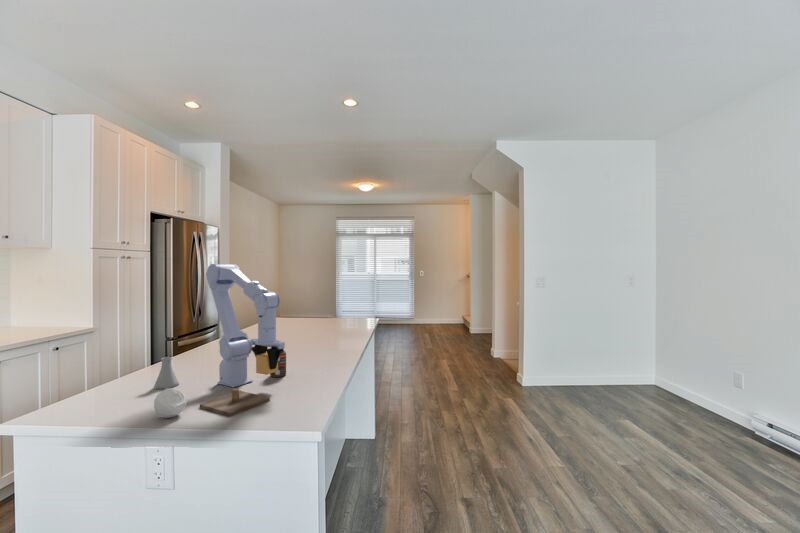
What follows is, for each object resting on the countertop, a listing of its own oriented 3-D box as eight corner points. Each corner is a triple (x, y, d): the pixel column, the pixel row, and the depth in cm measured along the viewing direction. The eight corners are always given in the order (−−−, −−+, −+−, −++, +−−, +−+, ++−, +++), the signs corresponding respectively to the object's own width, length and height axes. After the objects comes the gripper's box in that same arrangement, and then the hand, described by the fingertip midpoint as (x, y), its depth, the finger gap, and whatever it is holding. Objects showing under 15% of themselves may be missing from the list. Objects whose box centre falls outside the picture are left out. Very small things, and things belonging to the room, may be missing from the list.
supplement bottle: (281, 378, 141) (281, 348, 141) (266, 377, 142) (266, 347, 142) (289, 373, 146) (288, 345, 146) (275, 373, 148) (275, 344, 148)
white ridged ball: (168, 423, 100) (168, 394, 100) (146, 420, 102) (146, 392, 102) (192, 412, 107) (192, 385, 107) (171, 410, 109) (171, 383, 109)
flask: (149, 388, 130) (149, 359, 130) (169, 382, 136) (169, 355, 136) (163, 390, 127) (163, 361, 127) (183, 384, 134) (183, 356, 134)
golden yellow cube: (256, 372, 126) (256, 355, 126) (267, 369, 130) (267, 352, 130) (266, 374, 124) (266, 356, 124) (278, 371, 128) (278, 353, 128)
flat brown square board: (199, 407, 111) (199, 392, 111) (240, 393, 123) (239, 380, 123) (230, 416, 104) (230, 400, 104) (269, 400, 116) (269, 386, 116)
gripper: (242, 328, 127) (243, 367, 127) (272, 331, 120) (273, 373, 120) (259, 325, 133) (259, 363, 133) (289, 328, 126) (289, 368, 126)
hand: (267, 367), depth 127 cm, fingers closed on golden yellow cube, 5 cm apart
